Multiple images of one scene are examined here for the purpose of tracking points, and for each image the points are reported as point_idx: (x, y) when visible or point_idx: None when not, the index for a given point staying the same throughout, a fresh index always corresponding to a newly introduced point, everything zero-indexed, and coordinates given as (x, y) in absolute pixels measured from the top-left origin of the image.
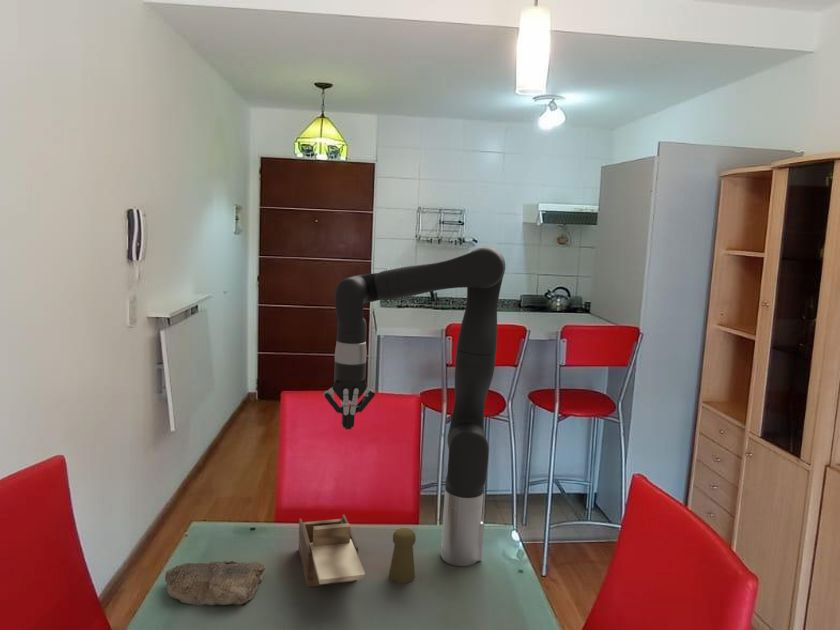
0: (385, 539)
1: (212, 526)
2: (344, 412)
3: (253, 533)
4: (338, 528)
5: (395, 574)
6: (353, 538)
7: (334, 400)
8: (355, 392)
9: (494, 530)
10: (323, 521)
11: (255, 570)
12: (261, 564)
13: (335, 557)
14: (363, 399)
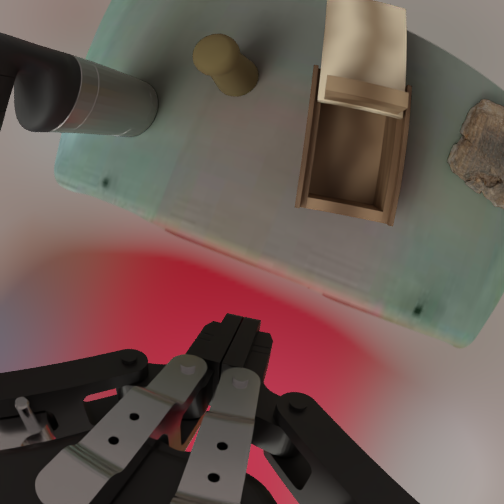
0: (218, 192)
1: (459, 334)
2: (252, 384)
3: (422, 295)
4: (355, 80)
5: (251, 62)
6: (311, 100)
7: (299, 496)
8: (79, 477)
9: (66, 171)
10: (343, 209)
11: (470, 145)
12: (457, 163)
13: (367, 50)
14: (72, 415)
